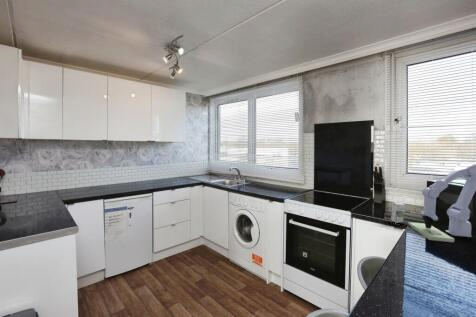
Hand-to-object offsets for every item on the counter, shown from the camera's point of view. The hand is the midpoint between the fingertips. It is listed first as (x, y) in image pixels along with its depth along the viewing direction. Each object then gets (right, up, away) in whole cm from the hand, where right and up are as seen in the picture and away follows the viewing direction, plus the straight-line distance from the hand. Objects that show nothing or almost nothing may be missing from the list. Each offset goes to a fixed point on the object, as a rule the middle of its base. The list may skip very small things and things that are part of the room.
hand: (428, 228), depth 143 cm
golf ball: (-1, -1, -6) cm, 6 cm away
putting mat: (0, -3, -1) cm, 3 cm away
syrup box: (-8, -2, +17) cm, 19 cm away
